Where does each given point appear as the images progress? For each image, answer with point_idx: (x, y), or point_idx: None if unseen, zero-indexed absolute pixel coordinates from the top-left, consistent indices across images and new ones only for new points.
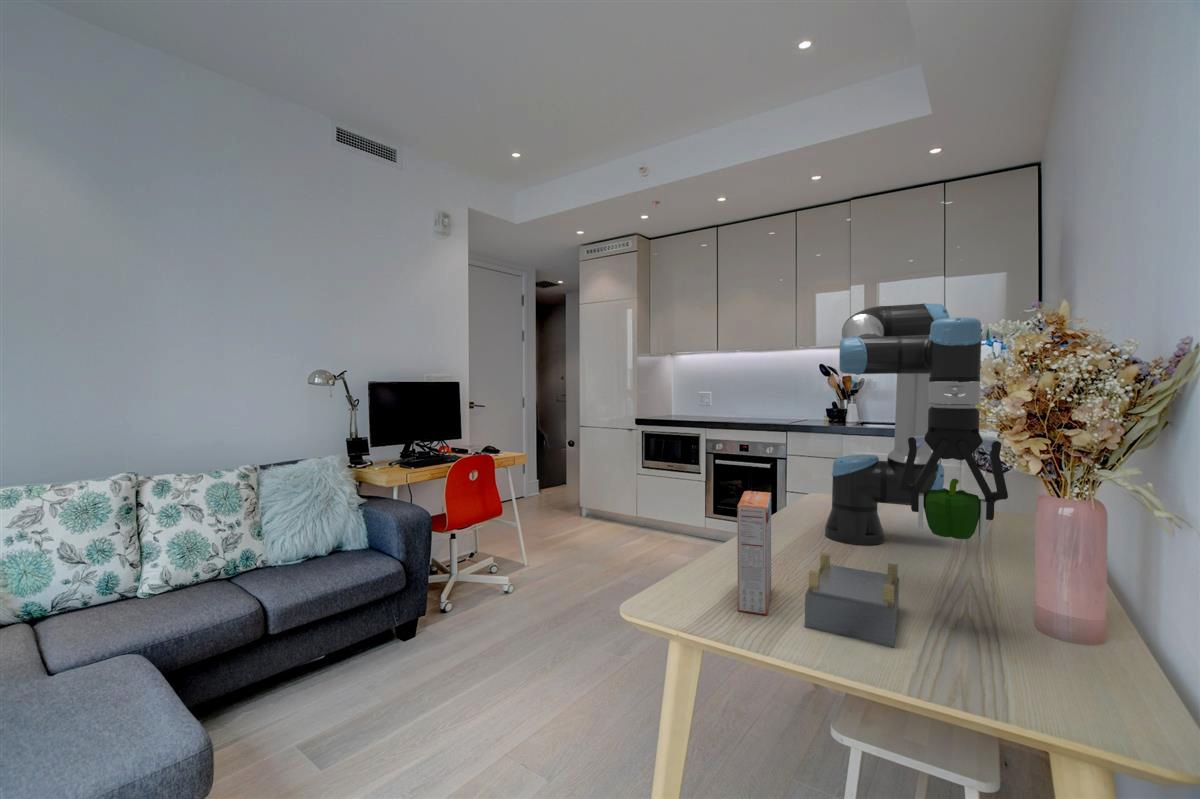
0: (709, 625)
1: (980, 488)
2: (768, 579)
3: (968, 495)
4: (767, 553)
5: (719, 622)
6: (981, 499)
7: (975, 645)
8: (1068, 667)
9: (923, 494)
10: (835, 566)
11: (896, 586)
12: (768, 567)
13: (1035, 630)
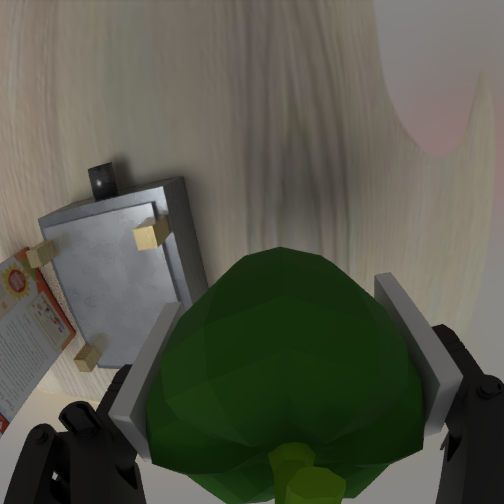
0: (67, 378)
1: (455, 463)
2: (45, 345)
3: (375, 465)
4: (31, 387)
5: (66, 369)
6: (444, 392)
7: (317, 254)
8: (421, 246)
9: (142, 436)
10: (57, 232)
11: (175, 251)
12: (35, 356)
13: (397, 124)
